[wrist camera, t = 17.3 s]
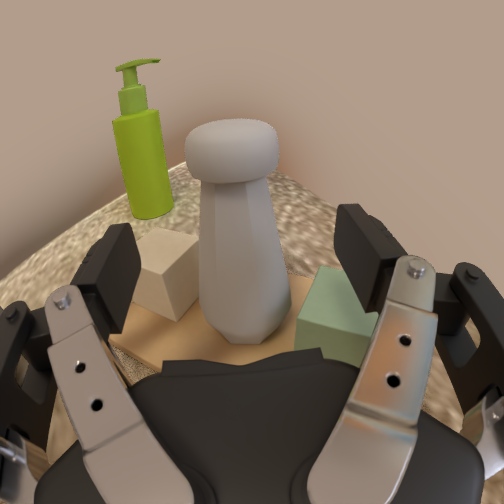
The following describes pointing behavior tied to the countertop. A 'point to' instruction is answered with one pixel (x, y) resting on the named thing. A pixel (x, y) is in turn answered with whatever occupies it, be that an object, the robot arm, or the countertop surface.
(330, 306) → the sage green cube
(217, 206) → the salt shaker
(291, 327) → the wood board
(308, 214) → the countertop surface
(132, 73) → the soap dispenser
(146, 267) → the beige matte cube
